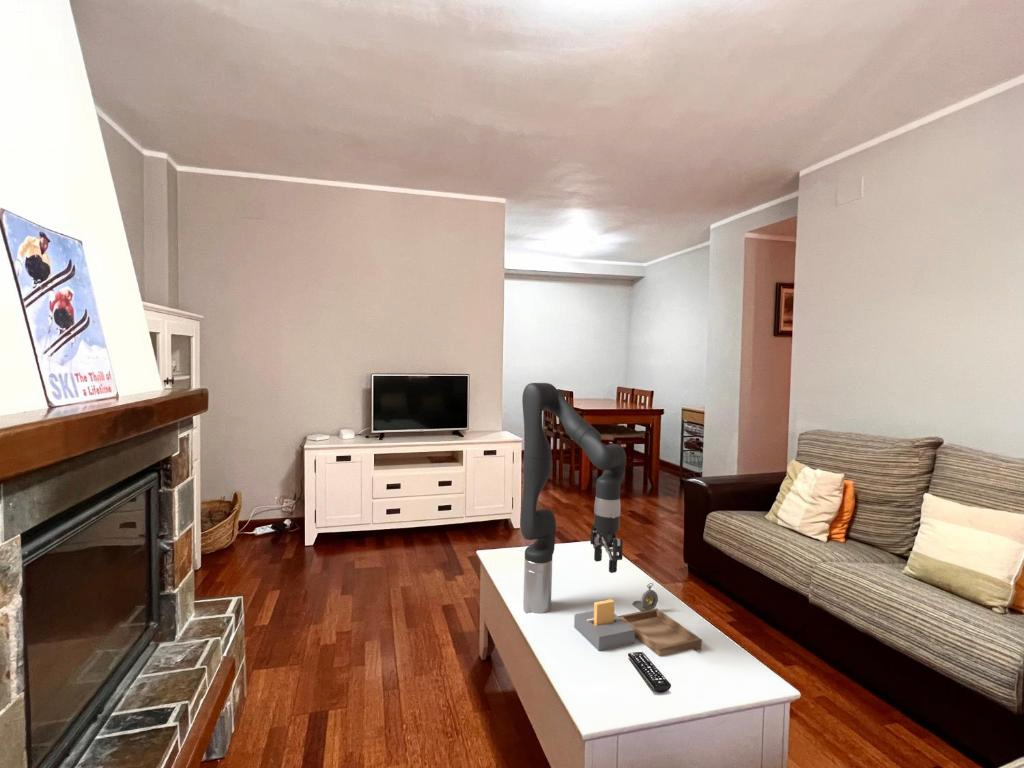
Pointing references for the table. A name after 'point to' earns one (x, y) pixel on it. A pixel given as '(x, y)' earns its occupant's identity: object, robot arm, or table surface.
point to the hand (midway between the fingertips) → (605, 566)
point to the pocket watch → (647, 600)
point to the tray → (661, 632)
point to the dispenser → (604, 631)
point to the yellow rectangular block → (603, 612)
